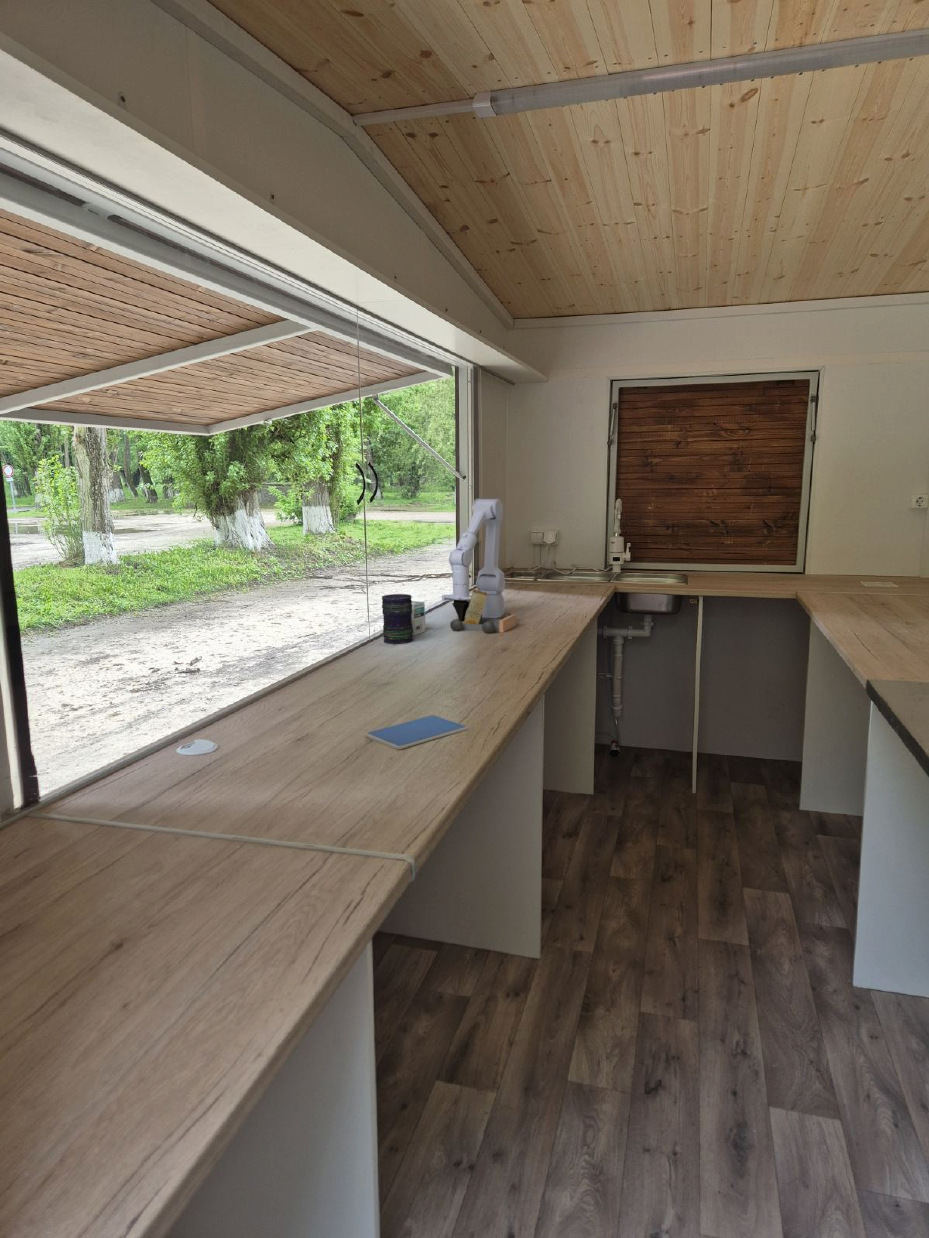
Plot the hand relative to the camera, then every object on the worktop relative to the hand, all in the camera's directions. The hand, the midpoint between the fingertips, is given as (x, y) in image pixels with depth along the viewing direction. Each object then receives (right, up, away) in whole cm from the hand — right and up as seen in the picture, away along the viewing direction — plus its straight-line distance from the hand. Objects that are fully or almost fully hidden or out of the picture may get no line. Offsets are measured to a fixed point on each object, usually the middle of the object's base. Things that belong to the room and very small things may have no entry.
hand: (461, 621), depth 293 cm
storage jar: (-21, -7, -23) cm, 31 cm away
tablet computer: (-9, -24, -115) cm, 118 cm away
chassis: (+8, -2, -3) cm, 9 cm away
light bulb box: (-19, -4, -8) cm, 21 cm away
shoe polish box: (+3, -1, -1) cm, 4 cm away
